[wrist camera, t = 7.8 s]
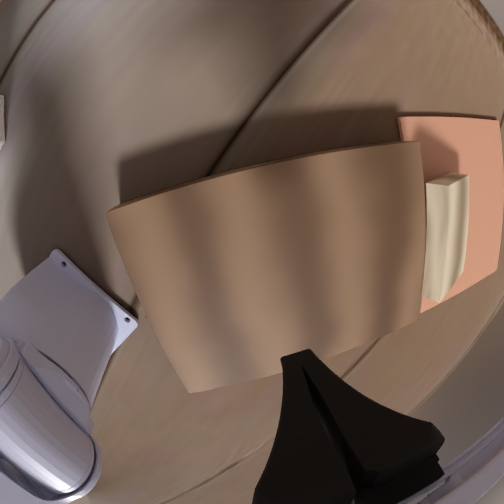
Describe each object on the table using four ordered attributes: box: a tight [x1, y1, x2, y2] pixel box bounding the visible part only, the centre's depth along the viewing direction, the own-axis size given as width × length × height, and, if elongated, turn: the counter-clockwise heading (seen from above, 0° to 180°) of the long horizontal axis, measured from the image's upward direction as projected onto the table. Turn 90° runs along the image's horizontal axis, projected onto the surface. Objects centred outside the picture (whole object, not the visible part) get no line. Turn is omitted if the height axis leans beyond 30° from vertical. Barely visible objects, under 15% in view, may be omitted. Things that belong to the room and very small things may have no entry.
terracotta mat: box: [397, 117, 504, 313], centre depth 22 cm, size 18×20×1 cm
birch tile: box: [421, 173, 469, 303], centre depth 19 cm, size 7×10×2 cm
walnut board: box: [105, 141, 426, 393], centre depth 20 cm, size 22×16×3 cm
